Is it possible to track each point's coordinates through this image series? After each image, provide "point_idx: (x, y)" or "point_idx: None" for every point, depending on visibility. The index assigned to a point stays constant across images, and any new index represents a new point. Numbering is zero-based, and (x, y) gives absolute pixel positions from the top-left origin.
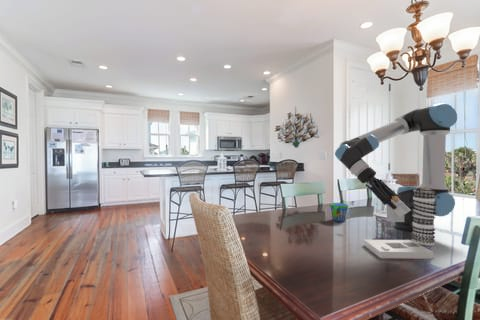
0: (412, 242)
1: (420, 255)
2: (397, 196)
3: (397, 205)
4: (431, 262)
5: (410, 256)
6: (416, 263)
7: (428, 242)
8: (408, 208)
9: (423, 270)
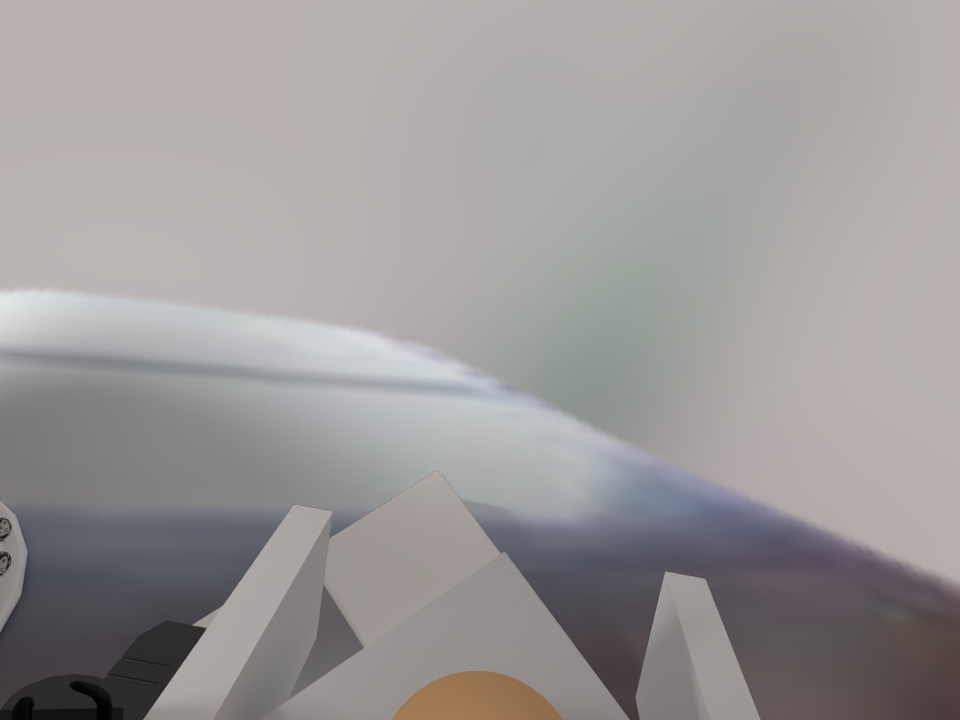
0: None
1: None
2: (414, 702)
3: (750, 706)
4: (551, 513)
5: None
6: None
7: (2, 519)
8: (316, 533)
9: (794, 568)
